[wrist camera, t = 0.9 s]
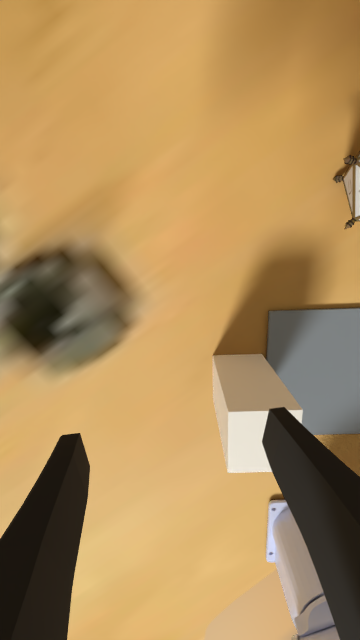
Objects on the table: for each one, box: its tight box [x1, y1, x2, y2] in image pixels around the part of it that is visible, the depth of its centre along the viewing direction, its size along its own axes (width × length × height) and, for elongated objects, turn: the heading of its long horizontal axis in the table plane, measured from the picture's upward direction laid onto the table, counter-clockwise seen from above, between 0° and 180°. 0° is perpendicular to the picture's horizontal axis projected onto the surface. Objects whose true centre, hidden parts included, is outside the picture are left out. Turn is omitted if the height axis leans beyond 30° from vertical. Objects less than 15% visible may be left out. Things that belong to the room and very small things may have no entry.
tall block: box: [213, 354, 303, 473], centre depth 24 cm, size 5×5×10 cm
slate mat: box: [266, 308, 360, 435], centre depth 29 cm, size 14×12×1 cm
